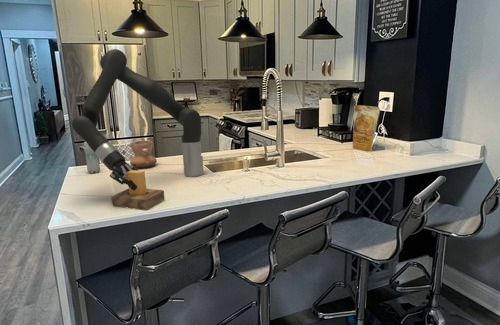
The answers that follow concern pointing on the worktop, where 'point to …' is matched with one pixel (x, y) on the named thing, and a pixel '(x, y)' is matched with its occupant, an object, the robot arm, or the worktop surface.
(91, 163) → the bottle
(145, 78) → the robot arm
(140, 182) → the tan rectangular block
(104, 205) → the worktop surface
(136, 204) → the slotted box
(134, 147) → the reddish brown vase
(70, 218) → the worktop surface
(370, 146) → the pancake mix bag
